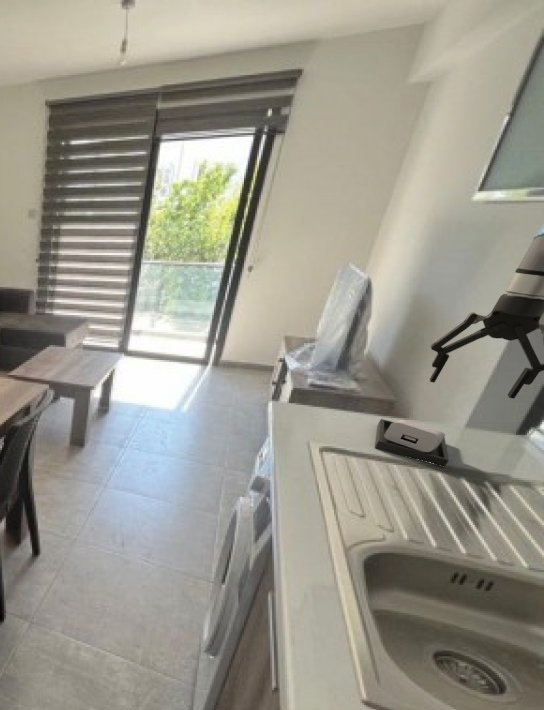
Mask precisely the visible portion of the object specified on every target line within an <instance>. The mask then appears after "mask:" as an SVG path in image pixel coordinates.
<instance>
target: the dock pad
mask: <svg viewBox="0 0 544 710" xmlns="http://www.w3.org/2000/svg"><path fill="white" fill-rule="evenodd" d="M394 422H395V421H392V420H387V419H384V418H380V419H379V422H377V426H376V432H375V433H376V435H375V443H374V449H377V450H380V451H384V452H387V453H390V454H394V455H398V456H401V455H402V456H401V457H405V456H407V457H406V458H408V457H411V458H410V459H412V458H414V459H413V460H415V459H419V460H423V461H427V462H431V463H434V464H437V465H441V466H444V467H443V468H445V467H446V466H447V464H448V462H449V461H450V459H449V454H448V449H447V448H448V447H447V442H446V436H445V437H444V438H443V440H442V441H441V443H440V444H439V446H438V447H437V448H436V449H434V450H432V451H431V452H422V451H419V450H416V449H413V448H410V447H407V446H404V445H401V444H398V443H395V442H393V441H390V440H388V439H386V438H385V437H384V434H385V433H386V431H387V430H388V428H389V426H390V425H391V423H394ZM419 460H418V461H419ZM437 465H436V466H437Z"/></svg>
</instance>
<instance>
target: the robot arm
mask: <svg viewBox="0 0 544 710" xmlns="http://www.w3.org/2000/svg"><path fill="white" fill-rule="evenodd" d="M504 291H505V292H506V293H502V294H501V295H500V296H499V298H498V299H497V301H496V303H495V305H494V306H493V308H492V310H491V311H490V312H489V314H487V315H482V314H478V313H476V312H473V311H472V312H470V313H468V315H467V316H466V318H465V319H464V320H463V321H462V322H460V323H459V324H458V325H457V326H455V327H454V328H452V329H451V330H450V331H448V332H447V333H445V334H444V335H443V336H441V337H440V338H438V339H437V340H436V341H435V342H433V343H432V344H431V345H430V349H431V350H432V351H434V352H436V356H435V357H434V359H433V361H432V363H431V366H432V368H434V371H433V372H432V374H431V376H430V378H429V382H430V383H436V381H437V379H438V377H439V376H440V373H441V372H442V370H443V369H444V367H445V365H446V364H447V362H448V360H449V359H450V354H449V353H452V352H453V351H455V350H458V349H460V348H462V347H464V346H466V345H469V344H471V343H474V342H475V341H478V340H480V339H483V338H485V337H488V336H489V337H490V338H492V339H503V340H505V341H509V342H510V341H516V340H517V341H518V343H519V345H520V347H521V349H522V351H523V353H524V355H525V357H526V359H527V361H528V364H529V365H530V368H529V367H524V369H523V370H522V372H521V373H520V375H519V376H518V378H517V380H516V381H515V383H514V384H513V385H512V387H511V389H510V390H509V392H508V393H507V396H508V398H509V399H512V400H513V399H515V398H516V397H517V396H518V394H519V392H520V391H521V390H522V389H523V386H524V385H526V386H530V385H531V384H533V383H534V381H535V380H536V378H537V377H538V375H539V374H540V373H541V372H542V371H543V372H544V363H541V362H540V359H539V358H538V355H537V354H536V351H535V350H534V348H533V345H532V344H531V342H530V339H529V336H528V334H530V333H532V332H534V331H537V330H539V334H542V340H543V341H542V343H543V344H542V345H544V323H540V320H541V318H542V317H543V315H544V223H543V224H542V226H541V227H540V228H539V230H538V231H537V233H536V234H535V236H534V237H532V241H531V243H530V245H529V246H528V249H527V250H526V252H525V254H524V255H523V258H522V259H521V261H520V263H519V265H518V267H517V268H516V270H515V272H513V274H512V276H511V278H510V279H509V281H508V283H507V284H506V285H505V288H504ZM479 322H482V323H483V326H484V327H482V328H480V329H478V330H476V331H474V332H473V333H471V334H469V335H466V336H464V337H462V338H460V339H458V340H456V341H454V342H451V343H449V342H450V341H451V340H453V339H454V338H455V337H457V336H459V335H460V334H461V333H463V332H464V331H465V330H467V329H468V328H469V327H471V326H472V325H477V324H478V323H479ZM447 343H449V344H448V345H446V344H447Z"/></svg>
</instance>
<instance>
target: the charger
mask: <svg viewBox="0 0 544 710" xmlns="http://www.w3.org/2000/svg"><path fill="white" fill-rule="evenodd" d="M393 422H394V423H391V425H390V426H389V428H388V430H387V431H386V433H385V434H384V437H385V438H386V439H388V440H390V441H393V442H395V443H398V444H401V445H404V446H407V447H410V448H413V449H416V450H419V451H422V452H431V451H432V450H434V449H436V448H437V447H438V446H439V444H440V443H441V441H442V440H443V438H444V437H445V438H446V434H445V433H444V432H443V431H441V430H439V429H436V428H432V427H429V426H426V425H423V424H419V423H416V422H413V421H409V420H406V419H401V420H397V421H393Z"/></svg>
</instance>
